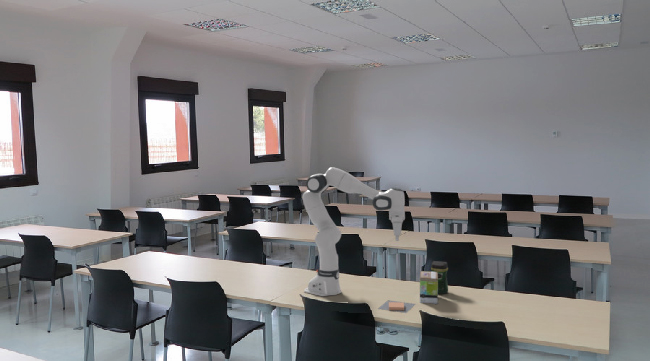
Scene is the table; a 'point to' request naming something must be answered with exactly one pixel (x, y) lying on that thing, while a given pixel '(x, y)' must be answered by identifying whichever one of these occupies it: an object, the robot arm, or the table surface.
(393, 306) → the tile
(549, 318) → the table surface
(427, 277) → the tea box
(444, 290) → the coffee jar
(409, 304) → the mat
